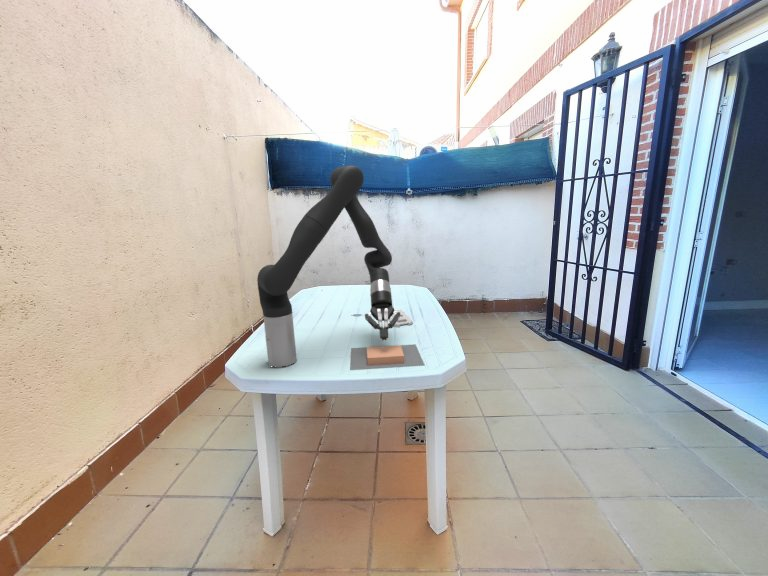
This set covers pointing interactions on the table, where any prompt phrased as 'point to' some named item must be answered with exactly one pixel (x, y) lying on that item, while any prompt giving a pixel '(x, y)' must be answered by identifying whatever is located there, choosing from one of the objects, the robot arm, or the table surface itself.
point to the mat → (360, 362)
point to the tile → (385, 355)
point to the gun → (402, 319)
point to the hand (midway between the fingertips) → (384, 339)
